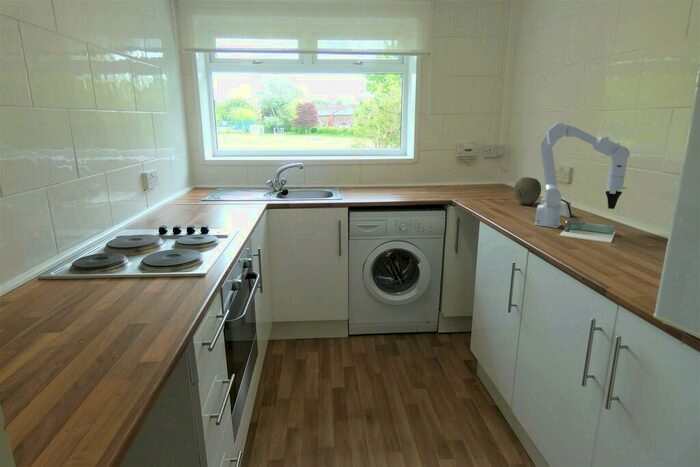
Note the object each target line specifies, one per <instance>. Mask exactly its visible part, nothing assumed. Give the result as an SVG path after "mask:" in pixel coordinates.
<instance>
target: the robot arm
mask: <svg viewBox="0 0 700 467" xmlns="http://www.w3.org/2000/svg"><path fill="white" fill-rule="evenodd" d="M563 137H571V138H573V137H574V138H577V139H579V140H581V141H583V142H585V143H587V144H590V145H592V149H593V150H594V151H596V152H599V153H601V154H602V155H605V156H607V157H611V160H610V164H609V170H608V176H607V184H606V186H605V188H606V189H607V190H606V191H605V195H606V199H607V209H609V210H614V209H615V208H616V205H617V203H618V200H619V198H620V196H621V195H622V194H623V191H621V190H627V187H626V186H624V182H625V176H626V170H627V162H628V159H629V158H630V156H631V154H630V150H629V149H628V147H626V146H623V145H621V143H619V142H615V141H613V140H611V139H610V138H609V137H607V136H605V137H604V136H599V137H596V136H594V135H592V134H590V133H587V132H585V130H582V129H580V128H577V127H575V126H573V125H568V124H565V123H563V122H556V123H555V122H554V124H552V125H551V126H550V127H549V128H548V129H547V131H546V133H545V134H544V136H543V138H542V140H541V142H540V143H539V144H540V153H541V159H542V161H541V162H542V168H543V173H544V175H543V176H544V183H545V195H544V197H545V203H543V205H540V204H538V205H537V207H536V212H535V221H534V226H539V227H540V226H541V227H549V228H555V229H558V228H559V227H560V226H561V225H562V223H560V218H561V215H560V210H561V205H560V204H559V203H560V202H561V197H562V195H561V192H560V190H559V189H558V184H557V182H558V181H557V175H556V167H555V160H554V159H555V158H554V153H553V152H554V150H553V147H554V145H555V144H556V143H557V142H558V141H559V140H561V139H562V138H563Z"/></svg>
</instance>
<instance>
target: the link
mask: <svg viewBox="0 0 700 467" xmlns="http://www.w3.org/2000/svg"><path fill="white" fill-rule="evenodd" d="M570 229H580V230H587V231H595V232H603V233H614V232H615V226H614V225H609V224H601V223H600V224H599V223H594V222H593V223H591V222H585V225H577V224H570Z"/></svg>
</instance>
